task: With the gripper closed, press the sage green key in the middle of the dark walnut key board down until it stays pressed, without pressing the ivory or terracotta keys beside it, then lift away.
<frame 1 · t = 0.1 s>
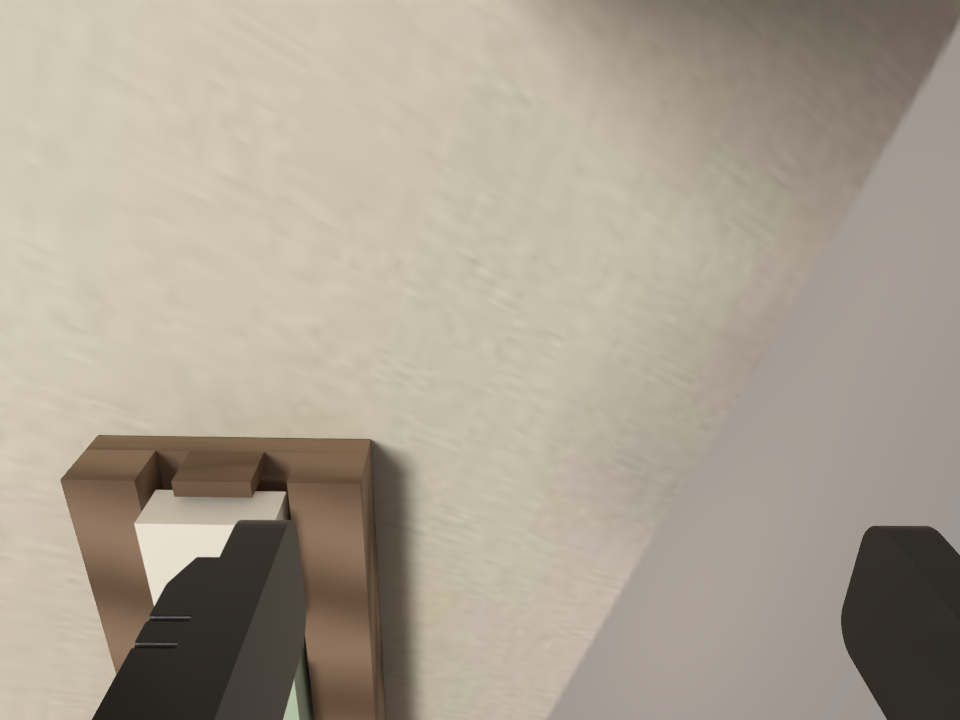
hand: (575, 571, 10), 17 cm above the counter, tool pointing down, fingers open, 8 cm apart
key board: (265, 641, 35), on the counter
ivory key: (221, 558, 28), point 3 cm above the counter, slide at 0.0 cm
sage green key: (247, 699, 32), point 3 cm above the counter, slide at 0.0 cm
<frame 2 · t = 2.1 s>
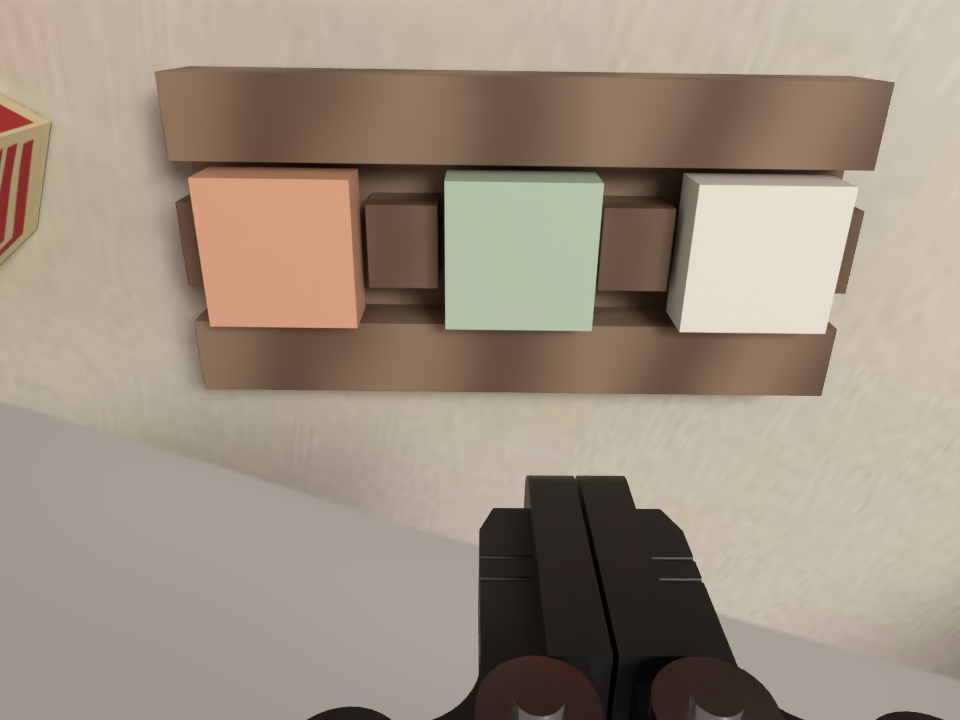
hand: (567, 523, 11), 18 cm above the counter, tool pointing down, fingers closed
terracotta key: (283, 247, 25), point 3 cm above the counter, slide at 0.0 cm
key board: (515, 226, 28), on the counter
ivory key: (754, 253, 25), point 3 cm above the counter, slide at 0.0 cm
sage green key: (519, 250, 25), point 3 cm above the counter, slide at 0.0 cm
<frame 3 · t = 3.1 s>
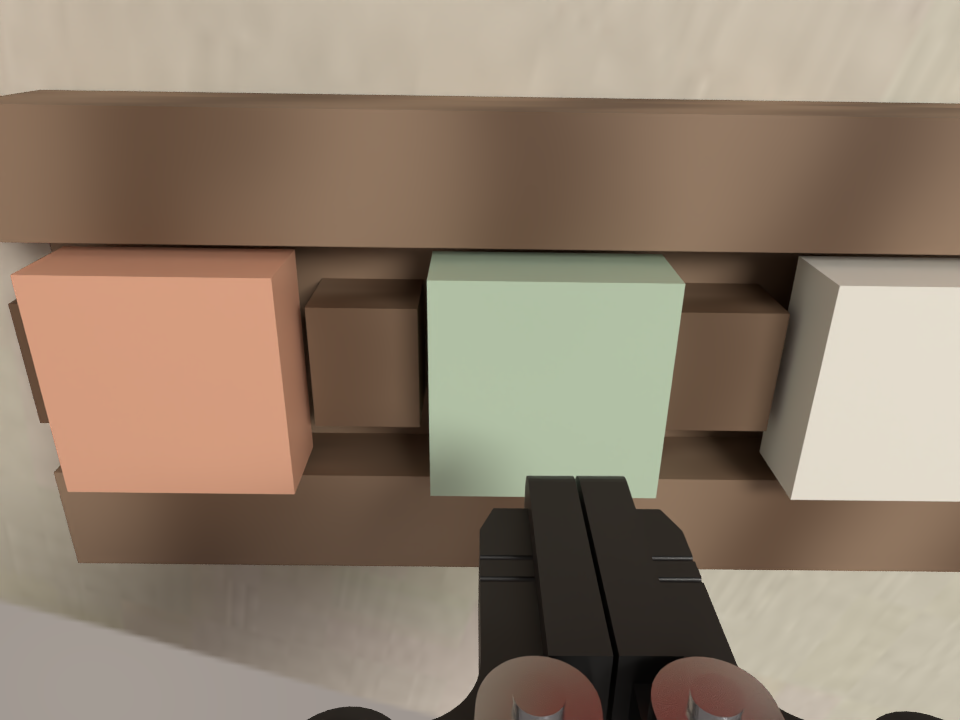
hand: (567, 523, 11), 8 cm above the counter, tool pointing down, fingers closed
terracotta key: (180, 371, 16), point 3 cm above the counter, slide at 0.0 cm
key board: (535, 321, 19), on the counter
ivory key: (907, 380, 16), point 3 cm above the counter, slide at 0.0 cm
sage green key: (545, 375, 16), point 3 cm above the counter, slide at 0.0 cm
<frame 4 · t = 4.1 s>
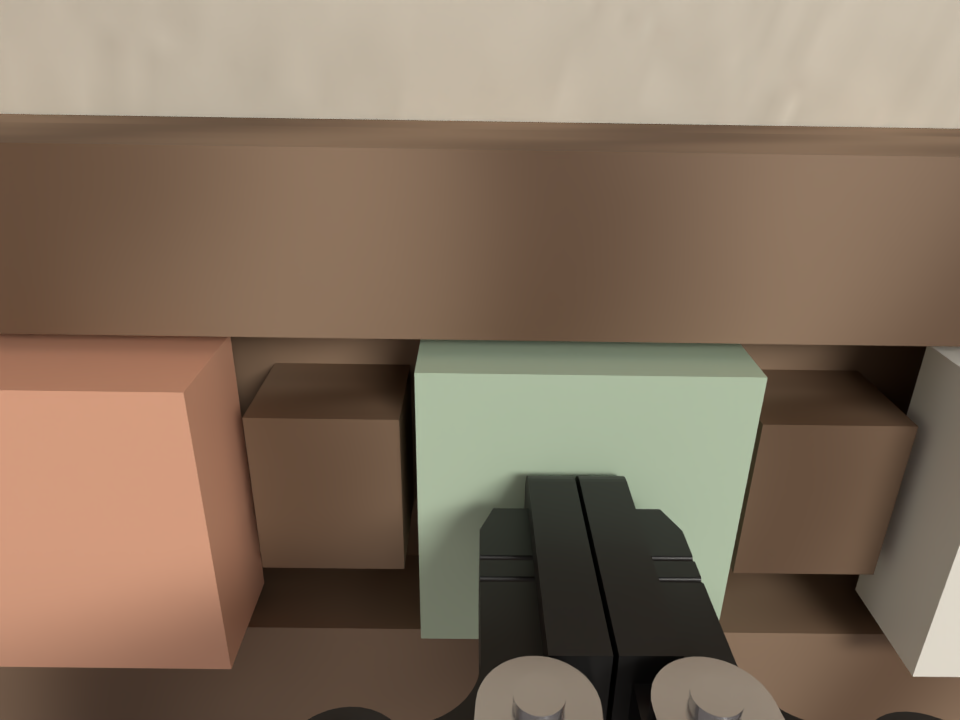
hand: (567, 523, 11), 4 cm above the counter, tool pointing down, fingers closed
terracotta key: (72, 501, 12), point 3 cm above the counter, slide at 0.0 cm
key board: (557, 411, 15), on the counter
sage green key: (571, 483, 12), point 3 cm above the counter, slide at 0.7 cm, touching gripper
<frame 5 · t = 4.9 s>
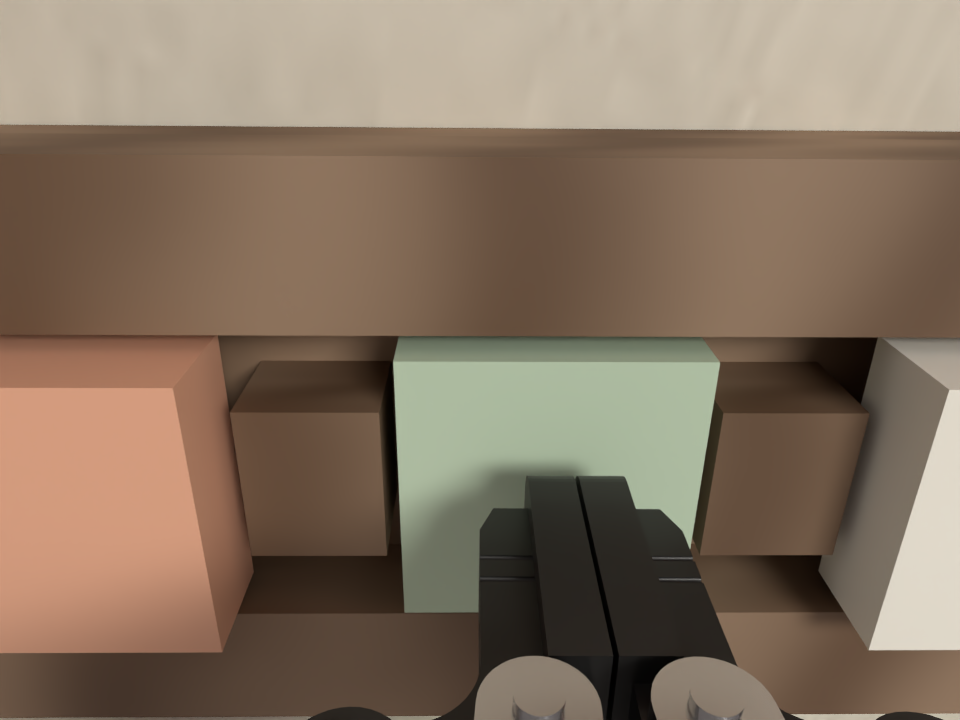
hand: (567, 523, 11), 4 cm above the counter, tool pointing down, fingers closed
terracotta key: (68, 494, 12), point 3 cm above the counter, slide at 0.0 cm
key board: (533, 404, 15), on the counter
sage green key: (543, 464, 13), point 2 cm above the counter, slide at 0.9 cm
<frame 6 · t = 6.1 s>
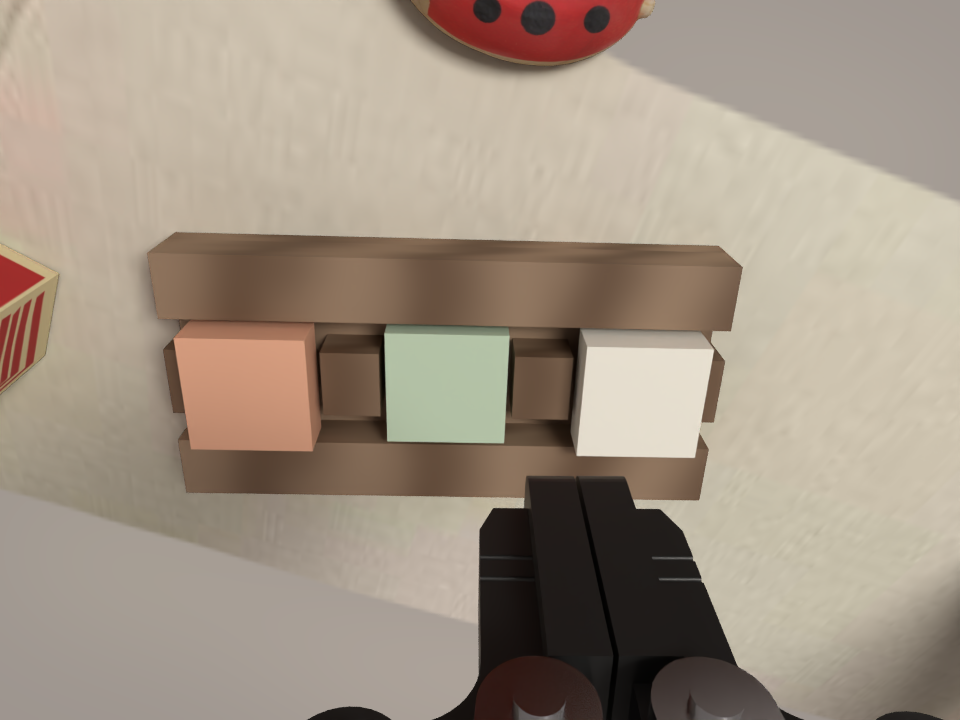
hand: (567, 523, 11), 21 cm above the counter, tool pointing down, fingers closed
terracotta key: (252, 385, 30), point 3 cm above the counter, slide at 0.0 cm
key board: (448, 357, 33), on the counter
ivory key: (637, 393, 31), point 3 cm above the counter, slide at 0.0 cm
sage green key: (447, 379, 31), point 2 cm above the counter, slide at 0.9 cm
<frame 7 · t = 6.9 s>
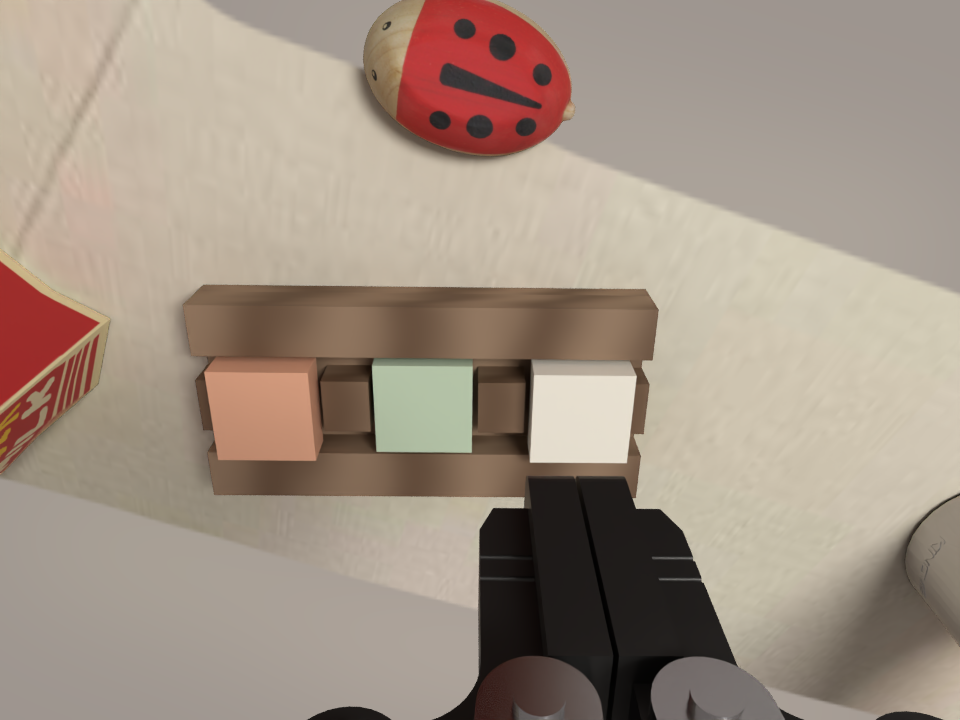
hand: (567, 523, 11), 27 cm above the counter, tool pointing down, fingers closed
terracotta key: (266, 408, 38), point 3 cm above the counter, slide at 0.0 cm
key board: (427, 381, 41), on the counter
milk carton: (19, 342, 40), on the counter
ladybug figurine: (468, 75, 34), on the counter
ivory key: (579, 410, 38), point 3 cm above the counter, slide at 0.0 cm
sage green key: (424, 401, 38), point 2 cm above the counter, slide at 0.9 cm
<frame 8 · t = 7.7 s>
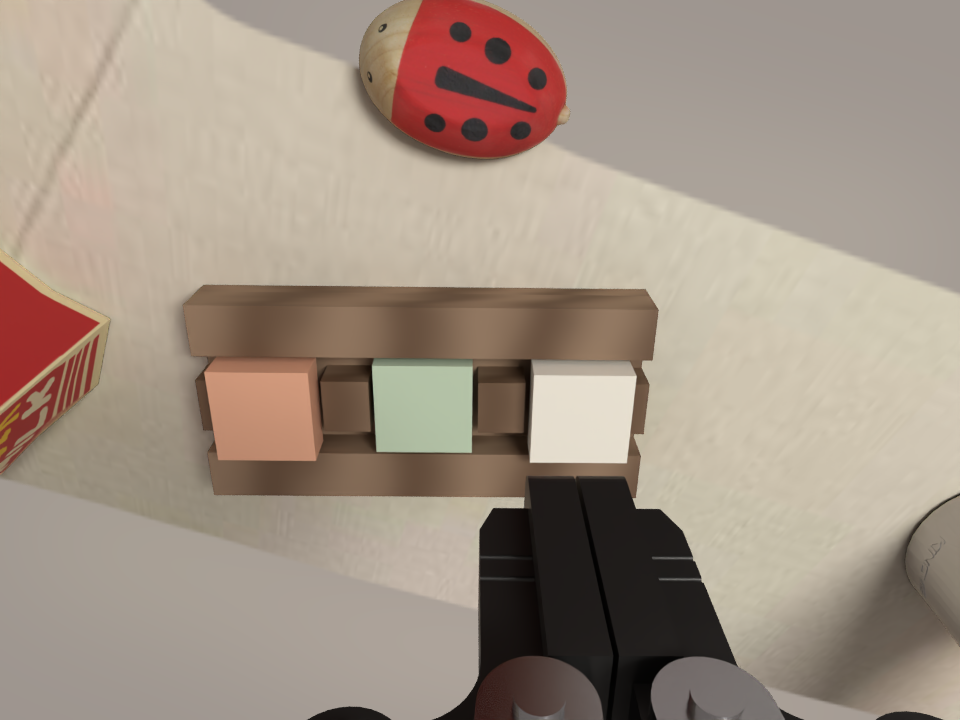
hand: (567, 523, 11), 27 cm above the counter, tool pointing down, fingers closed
terracotta key: (266, 408, 38), point 3 cm above the counter, slide at 0.0 cm
key board: (427, 381, 41), on the counter
milk carton: (19, 343, 40), on the counter
ladybug figurine: (464, 78, 34), on the counter
ivory key: (579, 410, 38), point 3 cm above the counter, slide at 0.0 cm
sage green key: (424, 401, 38), point 2 cm above the counter, slide at 0.9 cm
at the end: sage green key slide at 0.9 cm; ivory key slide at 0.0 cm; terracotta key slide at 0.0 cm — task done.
